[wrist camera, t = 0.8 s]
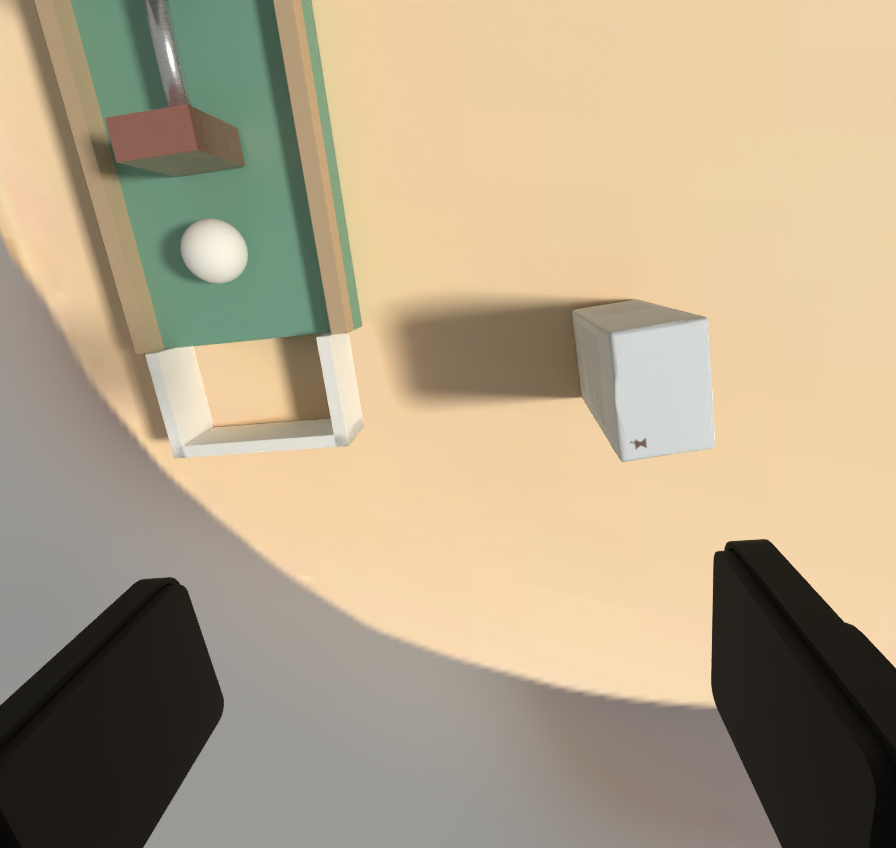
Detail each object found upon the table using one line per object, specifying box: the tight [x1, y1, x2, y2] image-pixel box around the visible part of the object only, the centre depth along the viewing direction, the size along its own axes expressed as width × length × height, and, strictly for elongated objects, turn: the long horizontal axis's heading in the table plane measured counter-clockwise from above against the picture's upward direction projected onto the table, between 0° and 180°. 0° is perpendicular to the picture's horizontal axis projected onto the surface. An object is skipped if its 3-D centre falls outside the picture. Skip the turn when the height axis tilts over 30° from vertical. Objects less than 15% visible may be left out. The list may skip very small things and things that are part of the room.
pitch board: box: [34, 0, 362, 354], centre depth 31 cm, size 25×14×4 cm, turn 6°
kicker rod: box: [105, 0, 245, 177], centre depth 26 cm, size 12×4×7 cm, turn 6°
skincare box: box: [572, 299, 715, 462], centre depth 28 cm, size 6×4×12 cm
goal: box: [145, 332, 364, 458], centre depth 35 cm, size 7×12×4 cm, turn 96°
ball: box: [181, 219, 248, 283], centre depth 31 cm, size 4×4×4 cm
